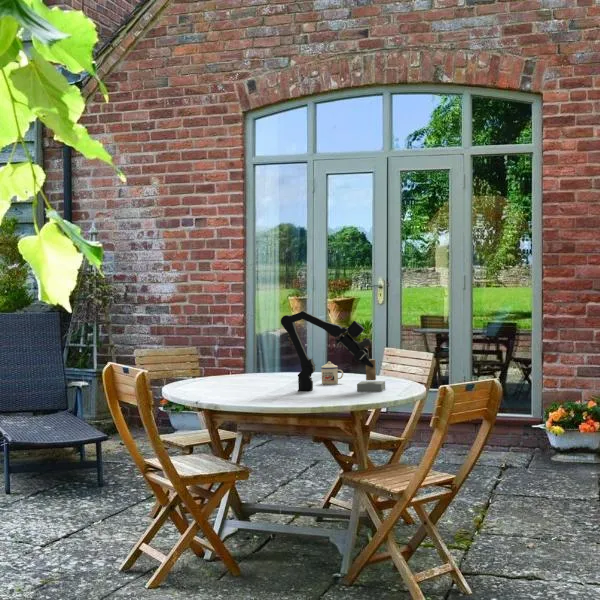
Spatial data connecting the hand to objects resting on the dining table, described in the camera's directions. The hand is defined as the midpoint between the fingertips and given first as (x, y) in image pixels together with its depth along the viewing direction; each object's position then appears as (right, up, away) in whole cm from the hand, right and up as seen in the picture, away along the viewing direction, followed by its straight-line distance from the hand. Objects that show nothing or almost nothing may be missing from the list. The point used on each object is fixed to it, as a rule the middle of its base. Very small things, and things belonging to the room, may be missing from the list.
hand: (373, 366), depth 415 cm
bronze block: (-1, -7, 0) cm, 7 cm away
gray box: (-1, -12, 0) cm, 12 cm away
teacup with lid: (-19, -12, +33) cm, 40 cm away
